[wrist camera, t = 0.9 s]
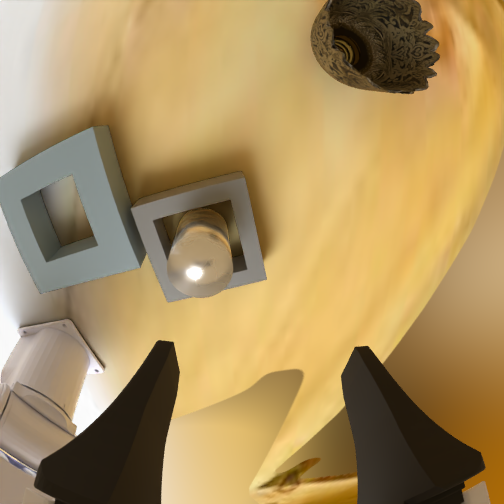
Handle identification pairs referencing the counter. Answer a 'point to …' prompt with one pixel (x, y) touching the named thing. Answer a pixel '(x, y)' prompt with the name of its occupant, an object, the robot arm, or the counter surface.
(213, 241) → the steel pin
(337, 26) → the cup
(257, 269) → the pin mount
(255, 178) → the counter surface
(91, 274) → the socket block
